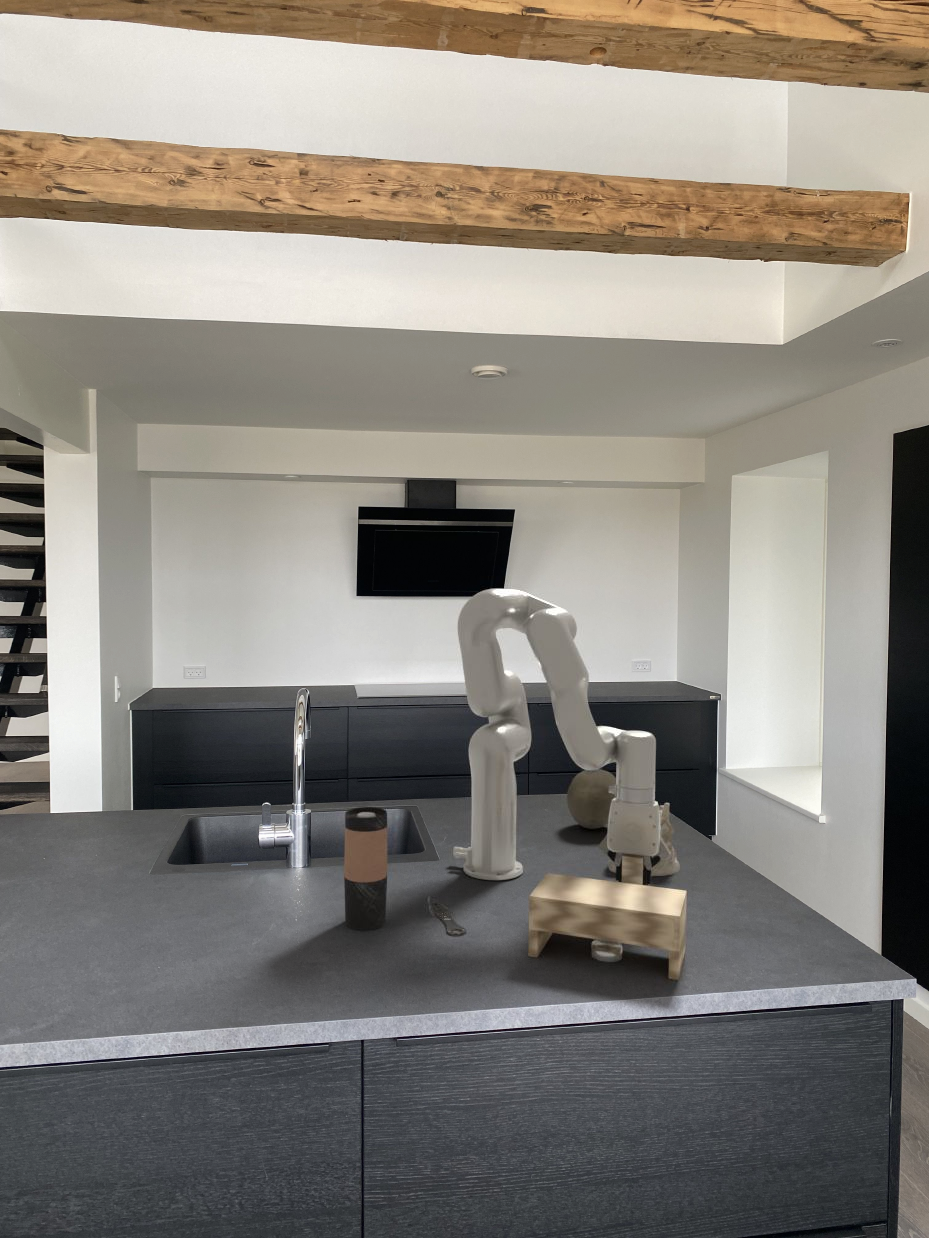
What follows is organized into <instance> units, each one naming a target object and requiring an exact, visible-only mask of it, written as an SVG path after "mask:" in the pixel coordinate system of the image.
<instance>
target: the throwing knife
mask: <svg viewBox="0 0 929 1238" xmlns="http://www.w3.org/2000/svg"><path fill="white" fill-rule="evenodd" d="M428 904H429V906H428V909H429V913H430V912H431V913H430V915H434V916H436V917H435V918H437V917H439V918H440V919H439V918H438V919H439V920H441V922H442V921H443V922H444V923H445V924H444V923H443V922H442V923H443V924H444V926H445V925H446V926H445V927H446V934H447V933H448V934H447V935H449V936H451V935H461V936H464V935H463V934H465V935H466V934H467V928H466V927H463V926H461V925H459V924H458V923H457V921H455V919H454V918H453V915H454V914H453V913H454V911H452V910H451V909H450V908H448V907H447V906H446V907H445V905H444V904H443V903H441V902H440V901H438V900H437V899H435V898H433V897H432V896H429V895H428V896H427V905H428ZM442 913H443V914H442ZM451 914H453V915H452V916H451ZM434 916H433V917H434ZM444 916H446V917H444ZM444 919H451V920H444ZM453 930H454V931H458V930H459V932H453Z"/></svg>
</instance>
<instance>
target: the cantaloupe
mask: <svg viewBox="0 0 929 1238" xmlns="http://www.w3.org/2000/svg"><path fill="white" fill-rule="evenodd" d="M570 782H571V783H570V785H569V786H568V788H567V789H568V790H567V793H566V794H567V795H566V803H567V807H568V810H569V812H570V815H571V818H572V819H573V821H575V822H576V823H577V824H578V825H580V826H581V827H583V828H585V829H590V830H596V829H597V830H598V829H600V828H603V827H605V826H606V825H608V820H609V812H610V806H611V802H612V800H613V799H614V798H615V795H614V794H612V793H609V786H615V785H616V777H615V775H614V774H613V773H611V772H610V771H608V770H604V769H601V768H599V769H597V770H585V769H583V770H582V771H580V772H579V773H577V774H576V775H575V776H574V777H573V778H572V781H570Z"/></svg>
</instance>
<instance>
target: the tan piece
mask: <svg viewBox="0 0 929 1238" xmlns="http://www.w3.org/2000/svg"><path fill="white" fill-rule="evenodd" d="M644 865H645V861H644V855H635V854H627V853H624V854H623V856H622V883H629V884H637V885H643V869H644Z"/></svg>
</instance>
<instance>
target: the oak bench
mask: <svg viewBox="0 0 929 1238" xmlns="http://www.w3.org/2000/svg"><path fill="white" fill-rule="evenodd" d="M687 893H688V892H687V890H685V889H684V890H683V889H675V888H669V887H668V888H666V887H660V886H651V885H648V886H645V885H637V884H629V883H621V882H619V881H612V880H606V879H605V880H603V879H595V878H590V877H589V878H587V877H580V876H573V875H572V876H571V875H565V874H556V873H548V872H547V873H546V874H545V875H544V876H543V877H542V879H541V880H540V881H539V882H538V884H537V885H536V886H535V888H534V889H533V891H532V892H531V893H530V895H529V896H528V897H529V898H528V899H529V900H528V901H529V903H528V904H529V905H528V951H527V952H528V954H527V956H528V957H532V958H538V957H539V955H540V954H541V953H542V951H543V950H544V948H545V946H546V944H547V943H548V941H549V939H550V938H551V936H552V935H553V934H560V935H565V936H566V935H567V936H571V937H578V938H585V939H591V940H596V939H598V940H605V941H612V942H619V943H621V944H626V945H632V946H633V945H634V946H639V947H640V946H641V947H646V948H653V949H661V950H666V951H668V979H670V980H675V981H679V980H680V976H681V970H682V967H683V963H684V962H683V961H684V957H685V952H686V942H687V940H686V939H687V938H686V934H687V932H686V931H687V901H688V900H687V899H688V898H687Z"/></svg>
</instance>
